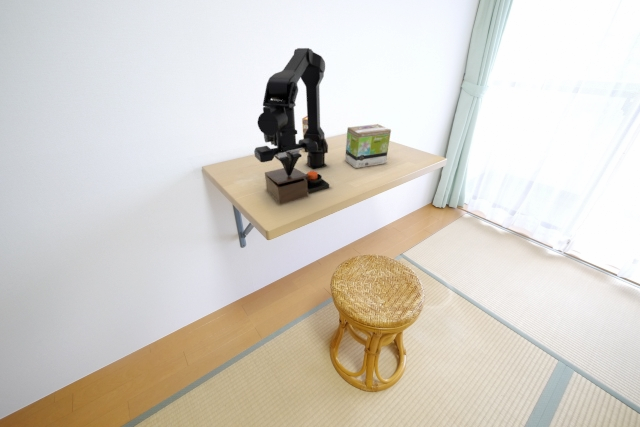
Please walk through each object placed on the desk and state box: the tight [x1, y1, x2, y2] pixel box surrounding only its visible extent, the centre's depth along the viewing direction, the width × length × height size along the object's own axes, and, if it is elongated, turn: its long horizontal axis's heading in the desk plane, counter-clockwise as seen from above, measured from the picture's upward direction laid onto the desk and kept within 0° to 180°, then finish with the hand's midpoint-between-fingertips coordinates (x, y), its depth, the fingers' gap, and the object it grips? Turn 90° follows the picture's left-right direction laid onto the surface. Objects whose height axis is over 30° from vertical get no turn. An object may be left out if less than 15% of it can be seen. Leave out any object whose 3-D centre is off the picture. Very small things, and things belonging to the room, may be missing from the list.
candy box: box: [301, 115, 308, 152], centre depth 124 cm, size 9×4×15 cm, turn 162°
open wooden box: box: [264, 174, 309, 205], centre depth 88 cm, size 12×10×6 cm
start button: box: [306, 170, 318, 179], centre depth 92 cm, size 4×4×2 cm
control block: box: [305, 173, 330, 195], centre depth 93 cm, size 10×8×4 cm
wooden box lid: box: [264, 167, 308, 184], centre depth 86 cm, size 12×10×1 cm
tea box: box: [344, 123, 392, 169], centre depth 109 cm, size 15×10×15 cm, turn 114°
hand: (288, 175), depth 83 cm, fingers closed
